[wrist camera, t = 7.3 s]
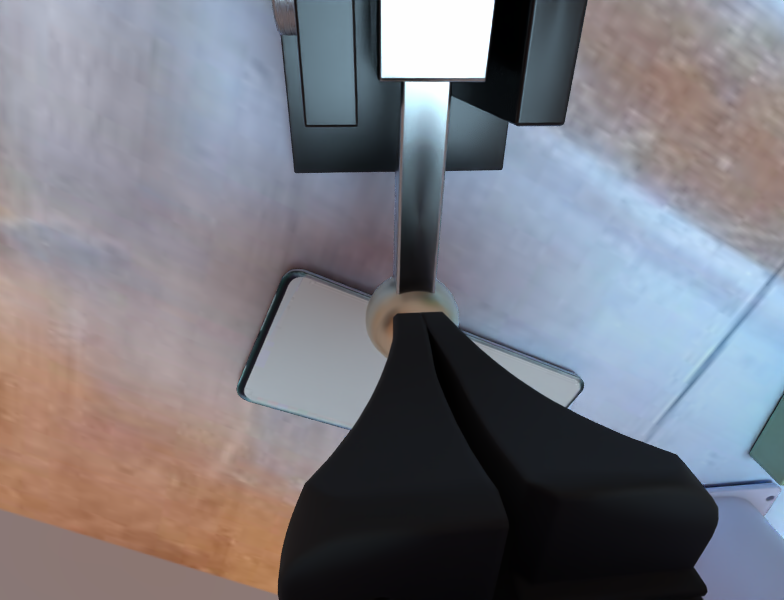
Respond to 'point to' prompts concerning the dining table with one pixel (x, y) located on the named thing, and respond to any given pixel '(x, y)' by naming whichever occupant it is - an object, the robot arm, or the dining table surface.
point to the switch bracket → (379, 99)
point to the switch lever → (422, 139)
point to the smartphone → (347, 355)
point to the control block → (772, 445)
